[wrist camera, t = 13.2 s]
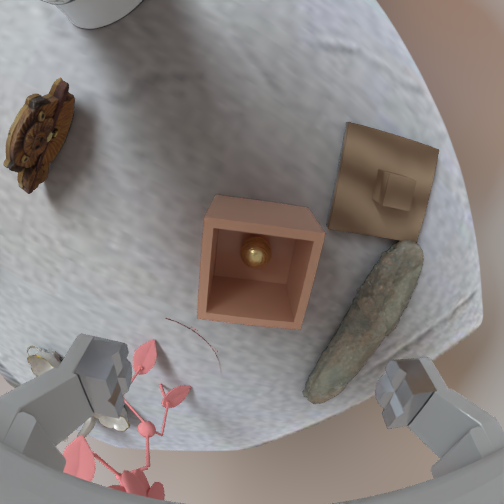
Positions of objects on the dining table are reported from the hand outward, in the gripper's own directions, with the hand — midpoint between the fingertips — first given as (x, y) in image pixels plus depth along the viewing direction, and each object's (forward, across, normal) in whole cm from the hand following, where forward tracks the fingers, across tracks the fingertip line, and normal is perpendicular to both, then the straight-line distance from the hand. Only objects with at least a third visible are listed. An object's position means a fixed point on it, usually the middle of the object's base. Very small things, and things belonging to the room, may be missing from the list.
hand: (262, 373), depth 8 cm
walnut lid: (+30, -18, -2) cm, 35 cm away
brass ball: (+28, -2, +9) cm, 30 cm away
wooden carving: (+32, +28, -4) cm, 43 cm away
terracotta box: (+31, -2, +9) cm, 33 cm away
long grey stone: (+31, -21, +22) cm, 44 cm away
